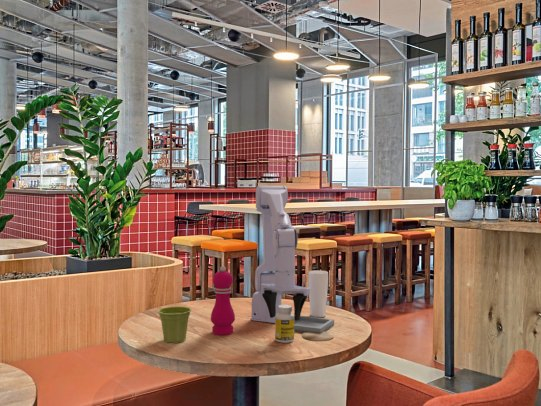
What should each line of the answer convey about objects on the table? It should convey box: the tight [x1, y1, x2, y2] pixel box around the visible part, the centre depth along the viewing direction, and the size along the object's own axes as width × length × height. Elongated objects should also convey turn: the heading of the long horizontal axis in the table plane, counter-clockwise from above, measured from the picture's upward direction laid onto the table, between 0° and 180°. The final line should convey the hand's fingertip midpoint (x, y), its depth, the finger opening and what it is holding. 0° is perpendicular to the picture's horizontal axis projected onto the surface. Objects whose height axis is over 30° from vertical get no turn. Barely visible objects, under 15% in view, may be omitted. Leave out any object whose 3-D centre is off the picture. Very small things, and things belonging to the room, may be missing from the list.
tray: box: [294, 315, 335, 333], centre depth 164 cm, size 12×12×2 cm
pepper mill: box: [210, 265, 236, 336], centre depth 158 cm, size 7×7×20 cm
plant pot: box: [157, 306, 192, 344], centre depth 150 cm, size 9×9×9 cm
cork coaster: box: [302, 331, 334, 342], centre depth 154 cm, size 9×9×1 cm
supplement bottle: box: [274, 304, 295, 344], centre depth 150 cm, size 5×5×10 cm
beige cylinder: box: [307, 269, 329, 318], centre depth 179 cm, size 7×7×15 cm
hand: (284, 318), depth 150 cm, fingers open, 7 cm apart
